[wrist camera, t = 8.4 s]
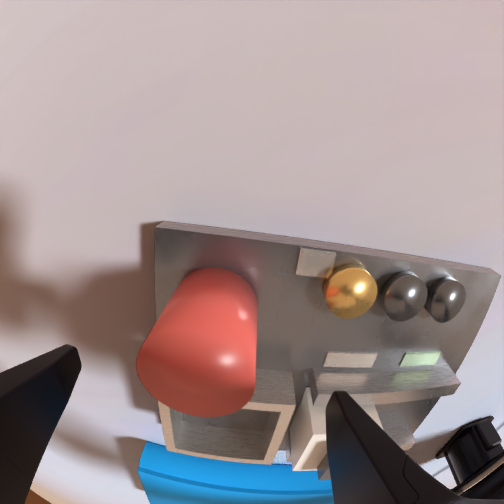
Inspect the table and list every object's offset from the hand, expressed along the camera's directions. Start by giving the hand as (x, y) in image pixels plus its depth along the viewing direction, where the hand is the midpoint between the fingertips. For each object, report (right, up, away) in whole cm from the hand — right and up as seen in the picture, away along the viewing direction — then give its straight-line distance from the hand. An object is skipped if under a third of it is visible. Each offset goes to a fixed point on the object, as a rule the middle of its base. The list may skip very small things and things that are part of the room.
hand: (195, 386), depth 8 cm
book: (+3, -22, +15) cm, 27 cm away
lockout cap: (0, +2, +5) cm, 5 cm away
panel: (+7, -3, +8) cm, 10 cm away
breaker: (+7, -6, +7) cm, 11 cm away
